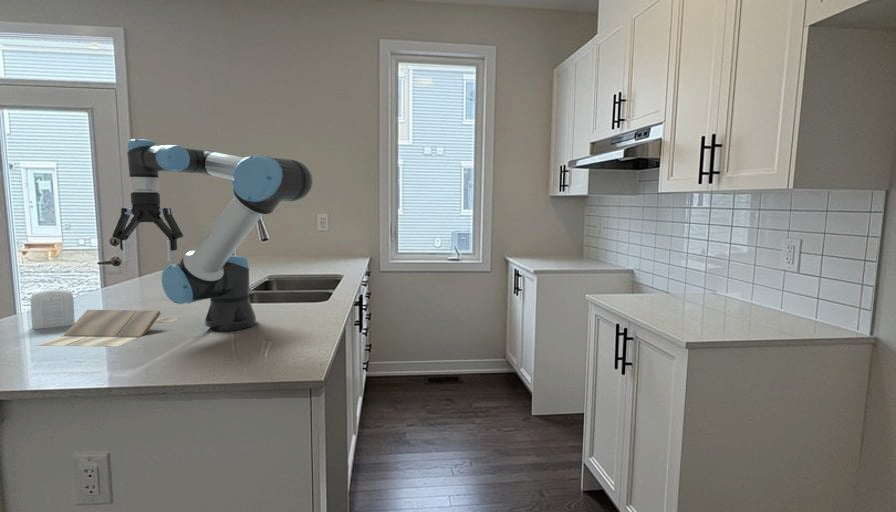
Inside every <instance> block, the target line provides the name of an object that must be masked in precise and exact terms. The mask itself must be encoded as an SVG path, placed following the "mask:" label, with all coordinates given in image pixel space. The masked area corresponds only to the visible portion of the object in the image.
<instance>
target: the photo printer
mask: <svg viewBox="0 0 896 512" xmlns="http://www.w3.org/2000/svg"><path fill="white" fill-rule="evenodd" d="M29 301H30V315H31V328H32V329H33V330H36V329H50V328H58V327H67V326H73V325H74V324H75V322H76V321H75V305H74V304H75V302H74V297H73V294H72V291H71V290H65V289H45V290H42V291H37V292H34V293H31V297H30V300H29Z"/></svg>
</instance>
